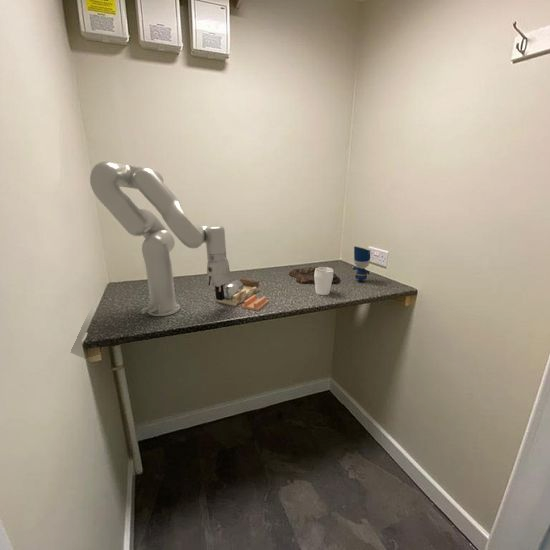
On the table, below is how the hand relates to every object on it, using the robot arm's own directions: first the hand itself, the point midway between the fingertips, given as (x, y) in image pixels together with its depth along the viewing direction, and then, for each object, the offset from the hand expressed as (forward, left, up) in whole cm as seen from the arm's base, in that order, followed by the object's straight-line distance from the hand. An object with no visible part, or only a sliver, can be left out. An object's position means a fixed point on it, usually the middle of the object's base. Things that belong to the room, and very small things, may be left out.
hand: (220, 299), depth 120 cm
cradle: (+10, -11, -4) cm, 15 cm away
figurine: (+64, -46, -4) cm, 79 cm away
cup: (+38, -33, -4) cm, 50 cm away
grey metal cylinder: (+10, +1, -2) cm, 10 cm away
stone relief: (+60, -22, -5) cm, 64 cm away
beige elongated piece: (+15, +1, -4) cm, 16 cm away
